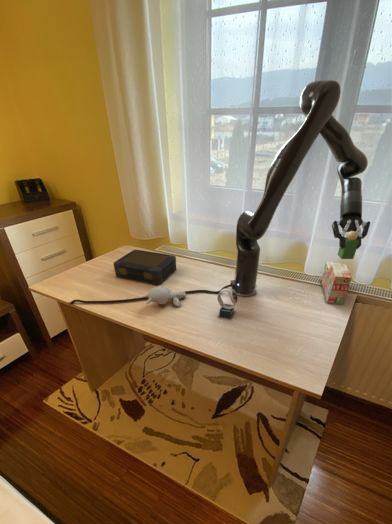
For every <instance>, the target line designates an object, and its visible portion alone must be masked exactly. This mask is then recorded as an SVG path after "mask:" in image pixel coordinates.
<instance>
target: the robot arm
mask: <svg viewBox="0 0 392 524" xmlns="http://www.w3.org/2000/svg"><path fill="white" fill-rule="evenodd" d="M341 91H342V90H341V85H340V83H339V82H338V81H337V80H333V79H325V80H324V79H323V80H315V81H312V82H309V83H308V84H307V85H306V86H305V87H304V88H303V90H302V92H301V95H300V98H299V107H300V111H301V113H302V114H303V116H304V117H305V120H304V122H303V123H302V124H301V126H300V127H299V129H298V130H297V131H296V132H295V133H294V134H293V135H292V136H291V137H290V138H289V139H288V140H287V141H286V143H285V144H283V145H282V147H281V148H280V149H279V150H278V152H277V153H276V155H275V156H274V159H273V161H272V163H271V164H270V167H269V168H268V171H267V174H266V177H265V182H264V190H263V195H262V199H261V201H260V203H259V205H258V206H257V208H256V210H255V211H254V210H250V209H249V210H245V211H243V212H242V213H240V215H239V217H238V219H237V222H236V231H235V235H236V236H235V246H236V263H235V269H234V279H231V280H230V284H227V285H225V286H223V287H221V289H219V290H217V291H213V290H207V289H195V290H185V291H184V290H183V291H184V292H185V293H186V294H194V293H207V294H212V295H213V294H214V295H215V294H217V295H218V294H219V292H220V291H221V290H222V289H224V288H230V289H232V290H235V291H236V293H237V295H238V296H240V297H251V296H254V295H255V293H256V288H257V286H258V284H257V278H258V272H259V263H260V256H261V247H260V245H259V242H258V240H260V239H261V238H263V237H264V235H265V234H266V232H267V231H268V228H269V227H270V224H271V223H272V220H273V217H274V216H275V213H276V211H277V210H278V207H279V205H280V204H281V202H282V200H283V197H284V196H285V194H286V192H287V191H288V188H289V187H290V186H291V183H292V181H293V180H294V178H295V176H296V174H297V173H298V171H299V169H300V167H301V165H302V163H303V161H304V159H305V158H306V156H307V155H308V153H309V151H310V150H311V148H312V146H313V144H314V143H315V141H316V140H317V137H319V135H320V136H321V137H322V140H324V142H325V143H326V146H328V148H329V150H330V152H331V155H332V156H333V157H334V159H335V161H336V162H338V163H339V164H338V165H337V167H336V174H337V176H338V179H339V182H340V187H341V195H340V196H341V197H340V204H339V210H340V211H339V215H340V216H339V220H334V221H333V222H332V224H331V229H332V233H333V237H334V238H335V239H338V240H339V242H338V243H339V244H338V245H339V248H340V247H341V249H343V248H344V247H345V237H346V235H347V233H349V232H350V231H355V232H356V233H357V238H356V239H357V240H358V241H359V243H358V246H357V249H356V250H358V249H359V248H361V246H362V240H363V239H365V237H366V236H367V235H368V233H369V229H370V226H371V221H367V222H366V221H364V220H363V218H362V217H363V195H362V191H363V190H362V188H363V187H362V185H363V184H362V183H363V182H362V179H361V178H360V177H356V176H358V175H361V174H363V173H364V172H365V171H366V170H367V168H368V164H369V161H368V158H367V155H366V154H365V153H364V152H363V151H362V150H361V149H359V147H357V146H356V145H355V143H354V141H353V139H352V137H351V135H350V133H349V132H348V130H347V129H346V128H345V126H343V124H342V123H340V122H339V121H338V120H337V119H336V118H335V117H334V116H333V113H334V112H335V110H336V108H337V106H338V104H339V102H340V98H341ZM340 162H341V163H340ZM340 228H341V231H340ZM361 228H362V229H361ZM148 299H149V298H141V297H135V298H134V297H133V298H126V299H113V300H111V299H109V300H82V299H73V300H71V301H70V305H73V304H75V303H82V304H113V303H128V302H134V301H135V302H136V301H143V300H148Z"/></svg>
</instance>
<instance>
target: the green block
mask: <svg viewBox="0 0 392 524" xmlns="http://www.w3.org/2000/svg"><path fill="white" fill-rule="evenodd" d="M344 237H345V247H344V248H343V249H341V247H340V246H339V247H338V251H337V256H338V257H339V258H340V260H354V258H355V256H356V252H357V250H358V249H357V246H358V243H359V241H358V240H357V239H356V238H357V233H356V232H355V231H350V232H347V233H346V234H345V236H344Z"/></svg>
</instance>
